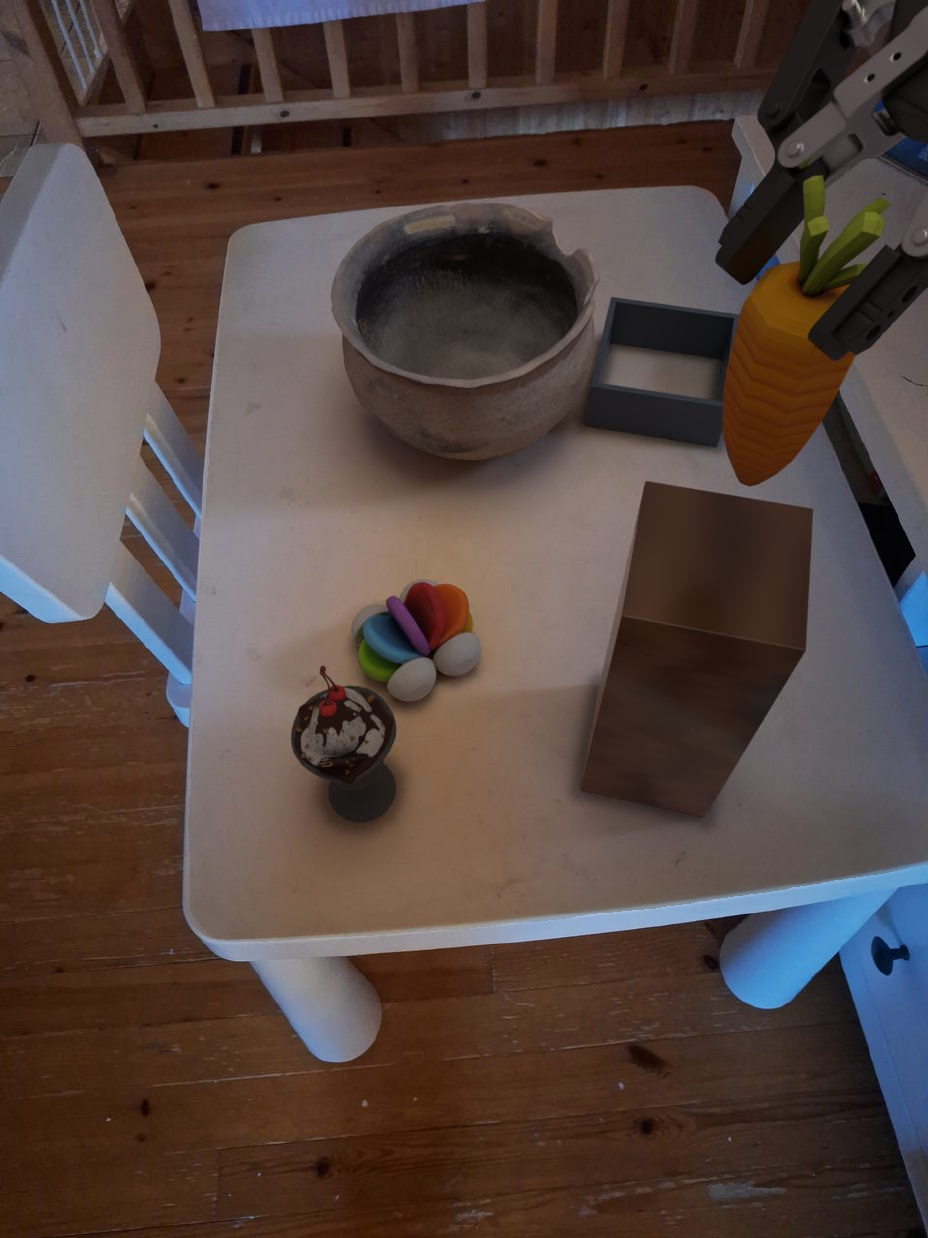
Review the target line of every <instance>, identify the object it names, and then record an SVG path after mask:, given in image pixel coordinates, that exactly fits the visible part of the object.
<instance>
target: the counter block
mask: <svg viewBox="0 0 928 1238" xmlns="http://www.w3.org/2000/svg"><path fill="white" fill-rule="evenodd" d="M643 485H644V486H643V488H642V489H643V490H642V493H641V498H640V503H639V506H638V511H637V516H636V519H635V520H636V521H635V525H634V528H633V533H632V538H631V543H630V547H629V551H628V556H627V560H626V565H625V569H624V573H623V578H622V582H621V586H620V591H619V594H618V600H617V604H616V608H615V613H614V618H613V622H612V626H611V631H610V635H609V639H608V643H607V649H606V653H605V656H604V661H603V667H602V670H601V675H600V680H599V684H598V689H597V695H596V700H595V706H594V710H593V717H592V723H591V728H590V733H589V738H588V742H587V749H586V754H585V759H584V765H583V771H582V777H581V782H580V787H579V790H580V791H583V792H588V793H592V794H596V795H601V796H606V797H609V798H616V799H619V800H624V801H629V802H633V803H636V804H637V803H639V804H642V805H648V806H652V807H656V808H661V809H666V810H671V811H674V812H678V813H679V812H680V813H684V814H688V815H692V816H698V817H702V818H705V817H706V816H707V814H708V813H709V811H710V810H711V808H712V806H713V805H714V803H715V802H716V799H717V798H718V796H719V794H720V793H721V791H722V789H723V788H724V787H725V785H726V783H727V782H728V780H729V779H730V777H731V775H732V773H733V772H734V770H735V768H736V767H737V765H738V764H739V761H741V759H742V757H743V755H744V754H745V752H746V750H747V748H748V747H749V746H750V743H751V742H752V741H753V739H754V737H755V735H756V733H757V732H758V731H759V729H760V727H761V726H762V724H763V722H764V721H765V719H766V717H767V715H768V714H769V712H770V710H771V709H772V707H773V706H774V704H775V702H776V701H777V699H778V697H779V696H780V694H781V692H782V691H783V690H784V687H785V686H786V684H787V683H788V681H789V679H790V678H791V676H792V674H793V673H794V671H795V669H796V668H797V666H798V664H799V663H800V661H801V660H802V657H803V656H804V654H805V653H806V651H807V641H808V640H807V639H808V620H809V619H808V618H809V601H810V600H809V599H810V583H811V582H810V581H811V579H810V578H811V561H812V560H811V559H812V539H813V521H814V509H813V508H812V507H805V506H799V505H793V504H787V503H782V502H775V501H770V500H764V499H757V498H752V497H745V496H739V495H733V494H727V493H721V492H714V491H710V490H703V489H699V488H698V489H697V488H691V487H687V486H686V487H685V486H680V485H674V484H667V483H662V482H656V481H649V480H645V481H644V484H643Z"/></svg>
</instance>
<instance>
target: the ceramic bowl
mask: <svg viewBox="0 0 928 1238" xmlns="http://www.w3.org/2000/svg"><path fill="white" fill-rule="evenodd" d="M599 273H600V272H599V270H598V267H597V265H596V264H595V260H594V256H593V255H592V253H591V252H590V250H589V249H587V248H581V247H578V248H577V249H576V250H574V252H573V253H572V254H568V255H567V254H565V253H564V252H563V250H562V247H561V241H560V239H559V235H558V232H557V228H556V225H555V222H554V219H553V218H551V217H549V216H547V215H545V214H543V213H541V212H539V211H537V210H536V209H533V208H531V207H526V206H524V205H523V206H522V205H518V204H513V203H501V202H480V203H478V202H477V203H473V202H472V203H471V202H462V203H456V204H452V205H441V204H439V205H434V206H428V207H425V208H421V209H417V210H413V211H409V212H406V213H404V214H403V213H402V214H401V215H400V214H399V215H397V216H394V217H391V218H389V219H387V220H385V221H382V222H380V223H378V224H377V225H375V226H374V227H373V228H372V229H370V231H369V232H367V233H366V234H364V235H362V237H361V238H359V239H358V240H357V241H356V242H355V243H354V244H353V245H352V247H351V248H350V249H349V251H348V252H347V253H346V255H345V256H344V258H343V259H342V260H341V261H340V263H339V265H338V267H337V269H336V271H335V274H334V278H333V281H332V285H331V289H330V300H331V309H330V310H331V313H332V316H333V319H334V320H335V322H336V325H337V327H338V328H339V330H340V331H341V333H342V334H341V336H342V337H341V347H342V355H343V364H344V369H345V372H346V375H347V378H348V381H349V384H350V385H351V387H352V390H353V392H354V395H355V397H356V398H357V400H358V402H359V403H360V405H361V406H362V407H363V408H364V410H365V411H366V412H367V413H368V414H369V416H370V417H371V418H372V419H373V420H374V421H375V422H376V423H377V424H378V425H379V426H380V427H382V428H383V429H384V430H385V431H386V432H388V433H389V434H391V435H392V436H394V437H395V438H397V439H398V440H399V441H401V442H403V443H405V444H407V445H409V446H411V447H412V448H414V449H417V450H419V451H420V452H422V453H426V454H429V455H432V456H437V457H440V458H443V459H444V458H445V459H453V460H467V461H480V460H481V461H483V460H489V459H494V458H498V457H501V456H505V455H508V454H512V453H513V452H517V451H520V450H523V449H525V448H527V447H528V446H530V445H531V444H533V443H535V442H536V441H538V440H540V439H541V438H543V437H544V436H545V435H546V434H547V433H548V432H549V431H551V430H552V429H553V428H554V427H555V426H556V425H557V424H558V423H560V422H561V421H562V419H563V418H564V417H565V416H566V415H567V414H568V413H569V412H570V411H571V409H572V408H573V407H574V405H575V404H576V402H577V401H578V400H579V398H580V397H581V395H582V394H583V392H584V391H585V388H586V386H587V383H588V380H589V377H590V374H591V370H592V366H593V365H592V364H593V359H594V352H595V351H594V350H595V322H594V316H593V315H594V312H595V310H596V301H595V300H594V294H595V292H596V289H597V287H598V284H599V283H600V280H601V278H600V277H601V276H600V274H599Z"/></svg>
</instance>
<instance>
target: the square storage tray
mask: <svg viewBox="0 0 928 1238" xmlns="http://www.w3.org/2000/svg"><path fill="white" fill-rule="evenodd" d="M609 300H610V301H609V305H608V309H607V313H606V318H605V322H604V325H603V329H602V334H601V338H600V343H599V347H598V350H597V351H598V352H597V355H596V360H595V364H594V368H593V372H592V377H591V382H590V385H589V390H588V391H589V393H588V400H587V408H586V416H585V422H584V423H585V424H584V425H585V426H586V427H591V428H598V429H604V430H609V431H610V430H611V431H615V432H616V431H617V432H622V433H628V434H637V435H641V436H649V437H654V438H660V439H665V440H666V439H668V440H674V441H678V442H679V441H680V442H685V443H686V442H687V443H693V444H699V445H705V446H710V447H719V446H718V445H719V442H720V439H721V437H722V434H723V397H724V383H725V378H726V373H727V368H728V363H729V358H730V353H731V348H732V344H733V340H734V336H735V332H736V328H737V324H738V320H739V315H740V313H732V312H725V311H717V310H709V309H703V308H702V309H701V308H695V307H688V306H681V305H673V304H667V303H659V302H652V301H645V300H638V299H631V298H623V297H615V296H611V297H610V299H609ZM611 344H617V345H624V346H632V347H639V348H643V349H644V348H645V349H650V350H651V349H652V350H658V351H659V350H660V351H665V352H666V351H667V352H671V353H672V352H673V353H680V354H685V355H686V354H687V355H692V356H693V355H694V356H700V357H705V358H706V357H707V358H714V359H720V360H721V366H720V374H719V380H718V387H717V395H716V400H715V399H709V398H703V397H696V396H695V397H694V396H689V395H681V394H676V393H675V394H674V393H669V392H663V391H657V390H656V391H655V390H649V389H642V388H636V387H630V386H629V387H628V386H623V385H616V384H610V383H603V377H604V373H605V368H606V364H607V363H606V362H607V361H608V356H609V351H610V346H611Z"/></svg>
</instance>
